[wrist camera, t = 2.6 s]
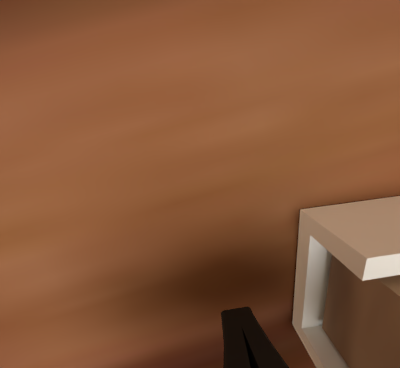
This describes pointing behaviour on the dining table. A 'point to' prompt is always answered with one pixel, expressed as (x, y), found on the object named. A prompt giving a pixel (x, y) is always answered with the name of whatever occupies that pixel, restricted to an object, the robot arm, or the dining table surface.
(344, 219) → the chute
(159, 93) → the dining table surface
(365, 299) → the walnut block
